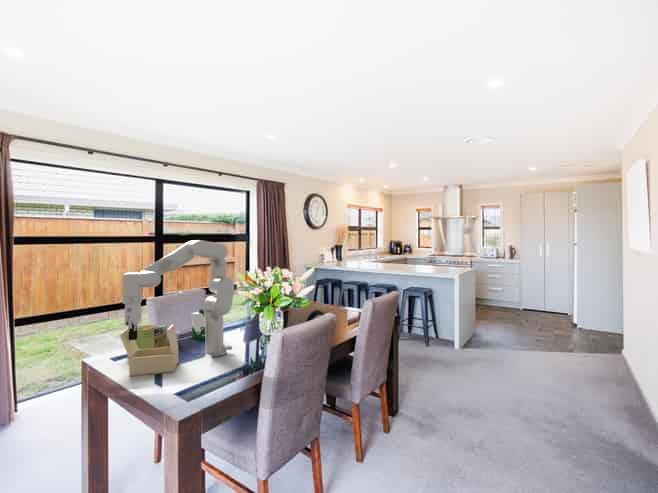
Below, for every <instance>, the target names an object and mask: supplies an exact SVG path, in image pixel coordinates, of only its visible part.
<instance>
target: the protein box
mask: <svg viewBox="0 0 658 493" xmlns="http://www.w3.org/2000/svg"><path fill="white" fill-rule="evenodd" d="M167 329H168V327H167V325H161V324H159V325H158V324H141V325H137V339H136V340H135V341H136V344H137V346H138V348H139V349H151V348H163V347H167ZM129 358H130V357H129V356H128V355H127V359H129Z"/></svg>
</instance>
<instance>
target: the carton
mask: <svg viewBox="0 0 658 493" xmlns="http://www.w3.org/2000/svg"><path fill="white" fill-rule="evenodd" d="M128 360H129V361H128V368H129V370H128V372H129V376H128V377H138V376H147V375H148V376H149V375H150V376H151V375H159V374H160V375H162V374H171V373H174V372H175V370H176V368H177V366H178V364H179V346H178V347H177V349H176V351H175V352H174V353H171V348H170V347H163V348H151V349H138V350H137V351H136V352H135V353H134V354H133V355H132V356H131V357H130V358H128Z"/></svg>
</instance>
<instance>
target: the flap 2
mask: <svg viewBox="0 0 658 493" xmlns="http://www.w3.org/2000/svg"><path fill="white" fill-rule="evenodd" d="M175 330H176V327H175V324H174V323H173V324H171V325H170V326H169V327H167V333H168V338H169V343H170V348H171V353H174V352H175V351H176V349H177V347H178V348H179V343H178V338H177V337H176V332H175Z"/></svg>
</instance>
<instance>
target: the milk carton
mask: <svg viewBox="0 0 658 493" xmlns="http://www.w3.org/2000/svg"><path fill="white" fill-rule="evenodd" d="M190 317H191V338H192V339H195V338H197V340H203V339H205V338H204V337H205V315H204V309H203V308H201V309H199V310H198V311H195V312H192V313H190ZM202 338H203V339H202Z"/></svg>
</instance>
